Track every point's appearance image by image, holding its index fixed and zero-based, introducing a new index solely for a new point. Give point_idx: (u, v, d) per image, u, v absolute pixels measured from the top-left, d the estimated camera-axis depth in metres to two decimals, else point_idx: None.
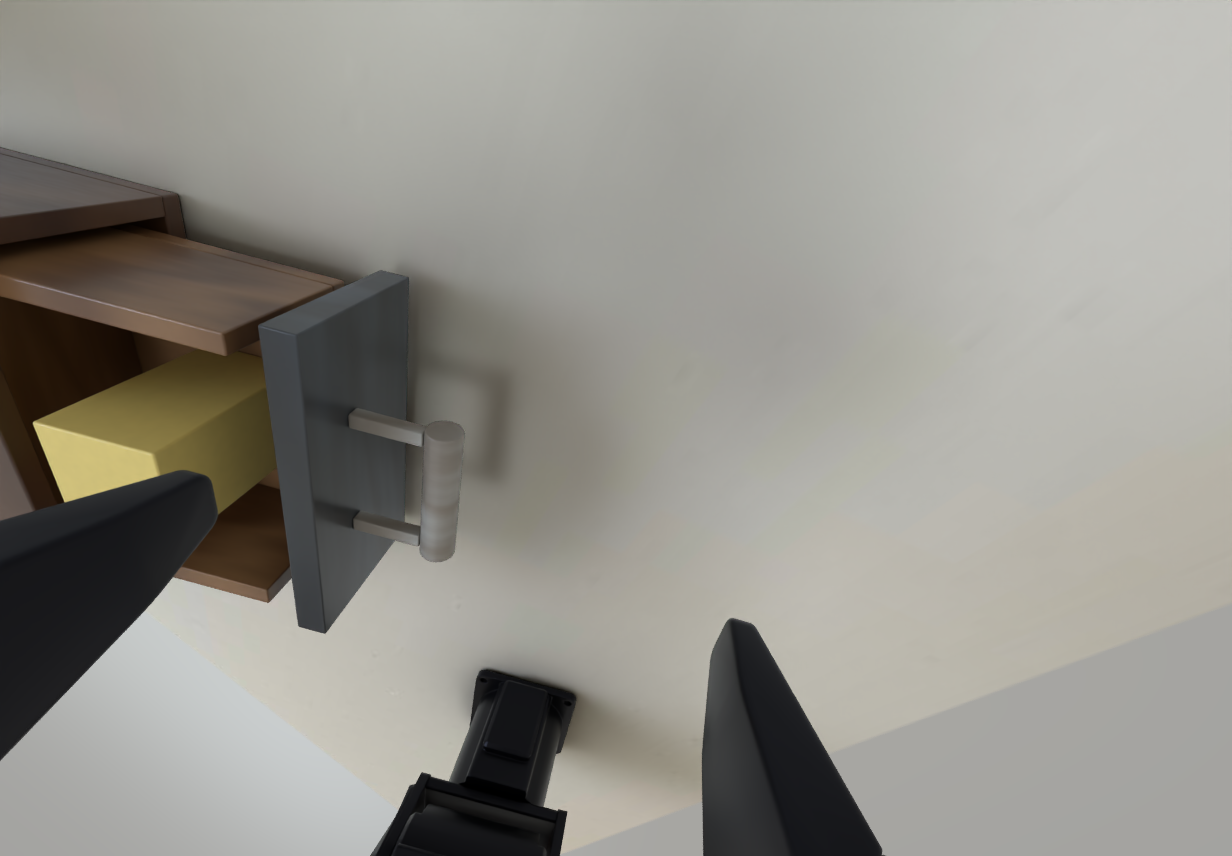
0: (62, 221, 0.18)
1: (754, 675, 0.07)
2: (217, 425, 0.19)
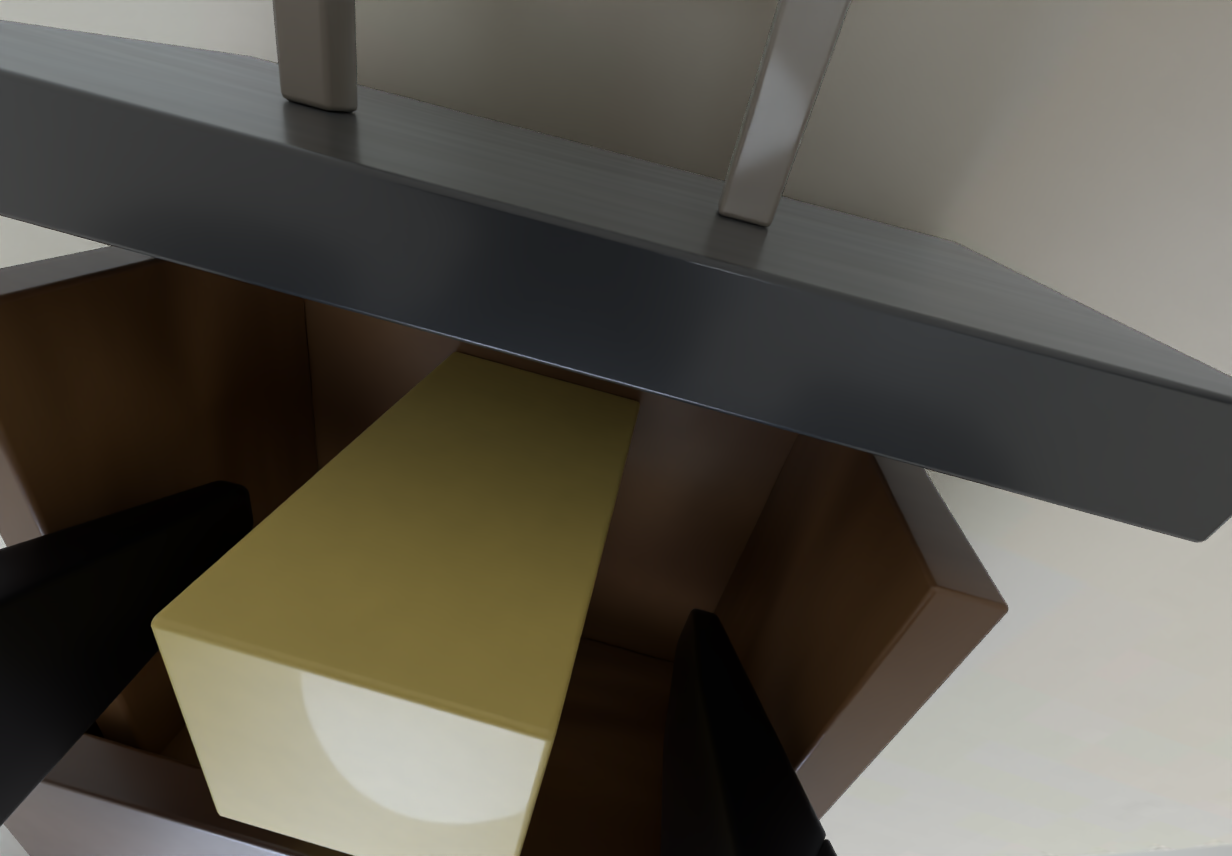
0: None
1: (712, 663, 0.08)
2: (340, 478, 0.07)
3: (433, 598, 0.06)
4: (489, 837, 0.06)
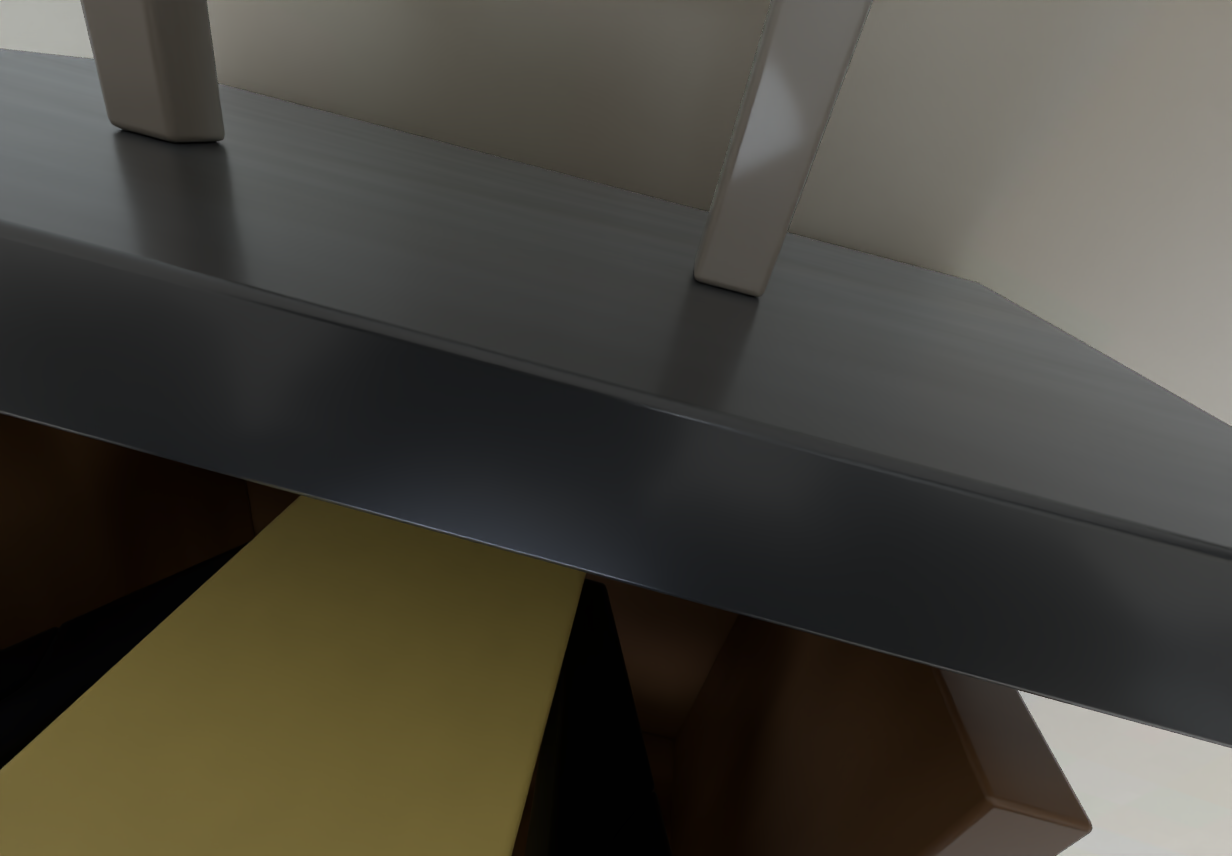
0: None
1: (584, 629, 0.08)
2: (220, 602, 0.06)
3: (315, 795, 0.04)
4: None
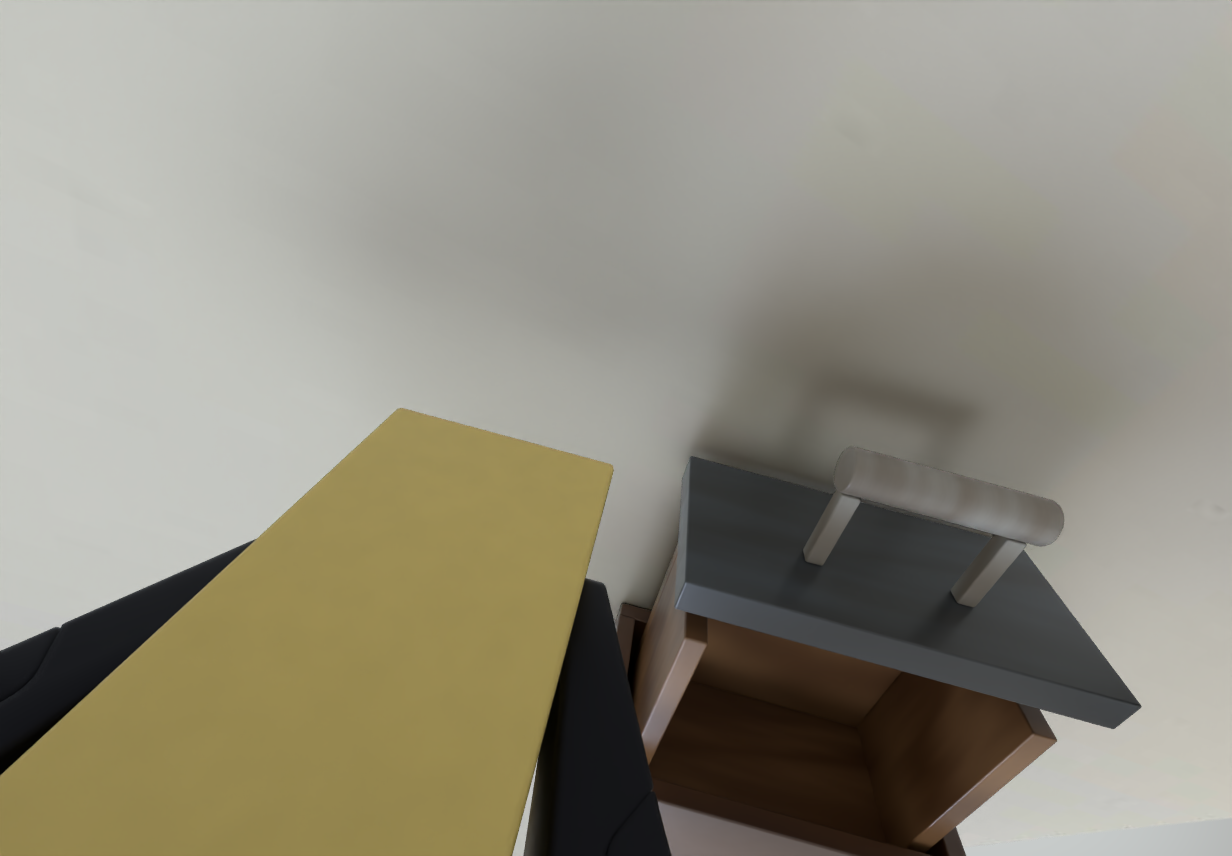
0: None
1: (583, 628, 0.08)
2: (221, 606, 0.06)
3: (316, 800, 0.04)
4: None
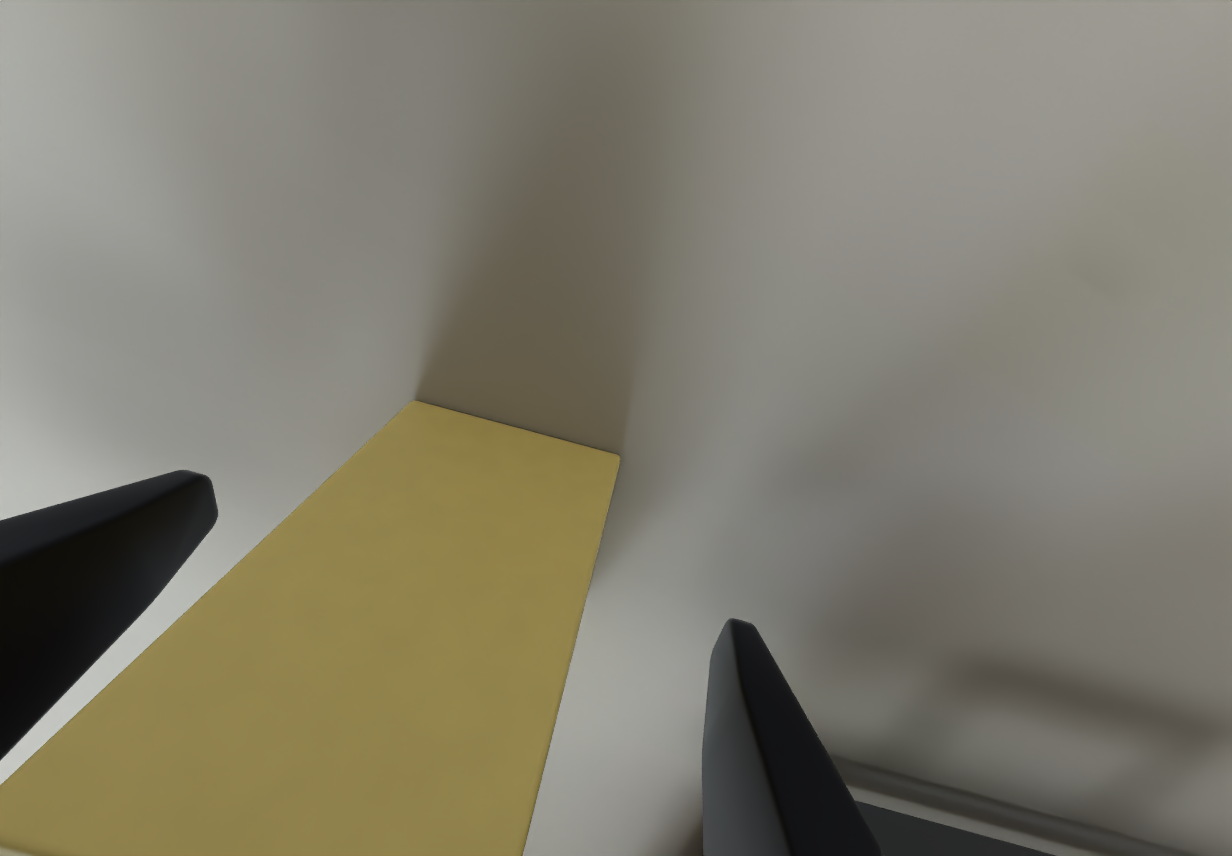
0: None
1: (754, 675, 0.07)
2: (251, 582, 0.06)
3: (349, 759, 0.05)
4: None
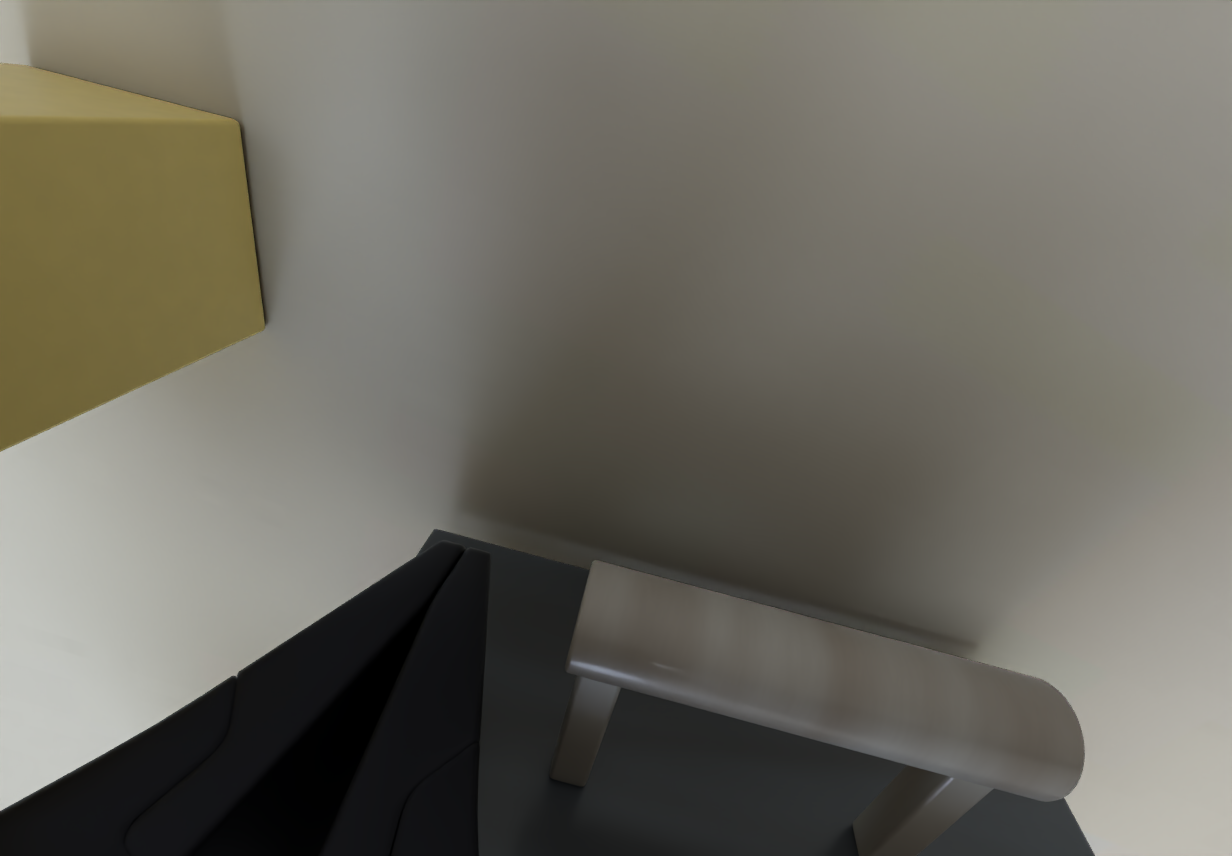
0: None
1: (453, 593, 0.08)
2: None
3: None
4: None
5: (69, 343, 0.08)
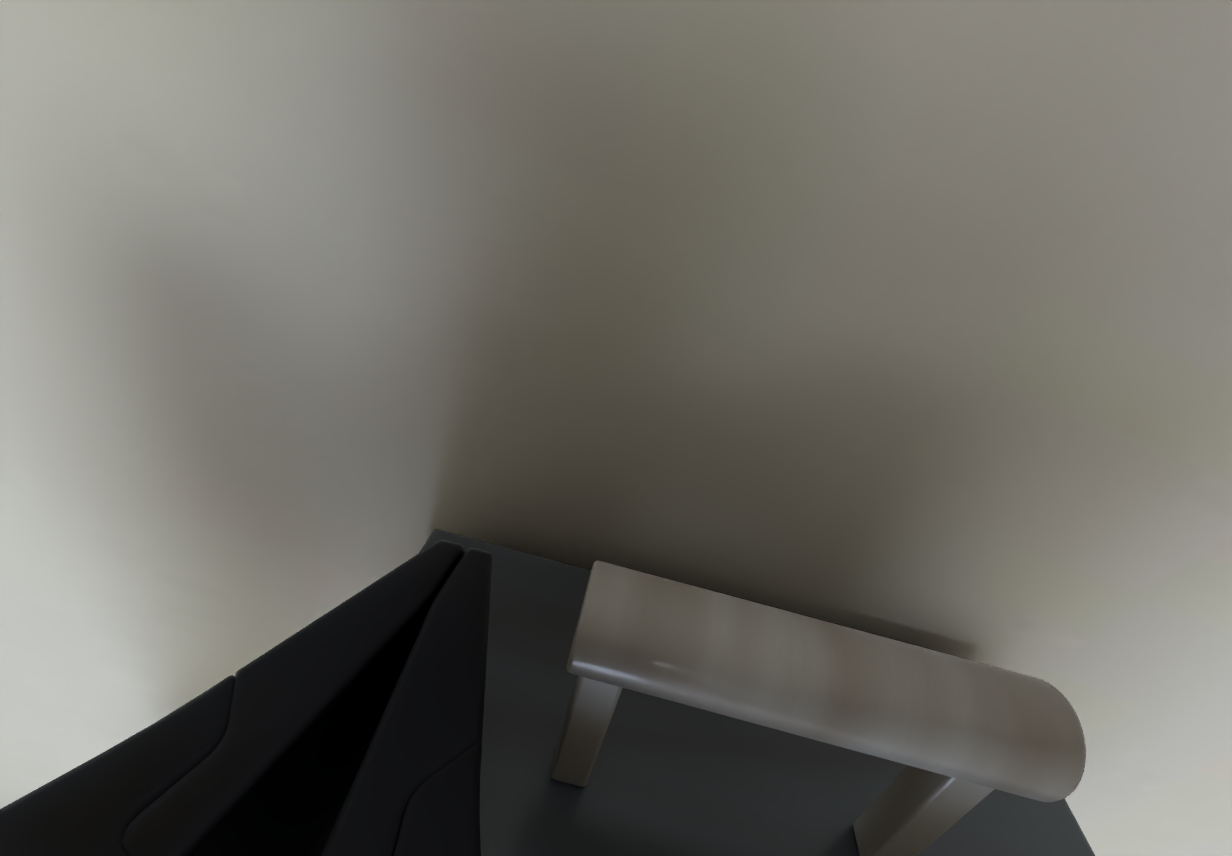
0: None
1: (454, 593, 0.08)
2: None
3: None
4: None
5: None
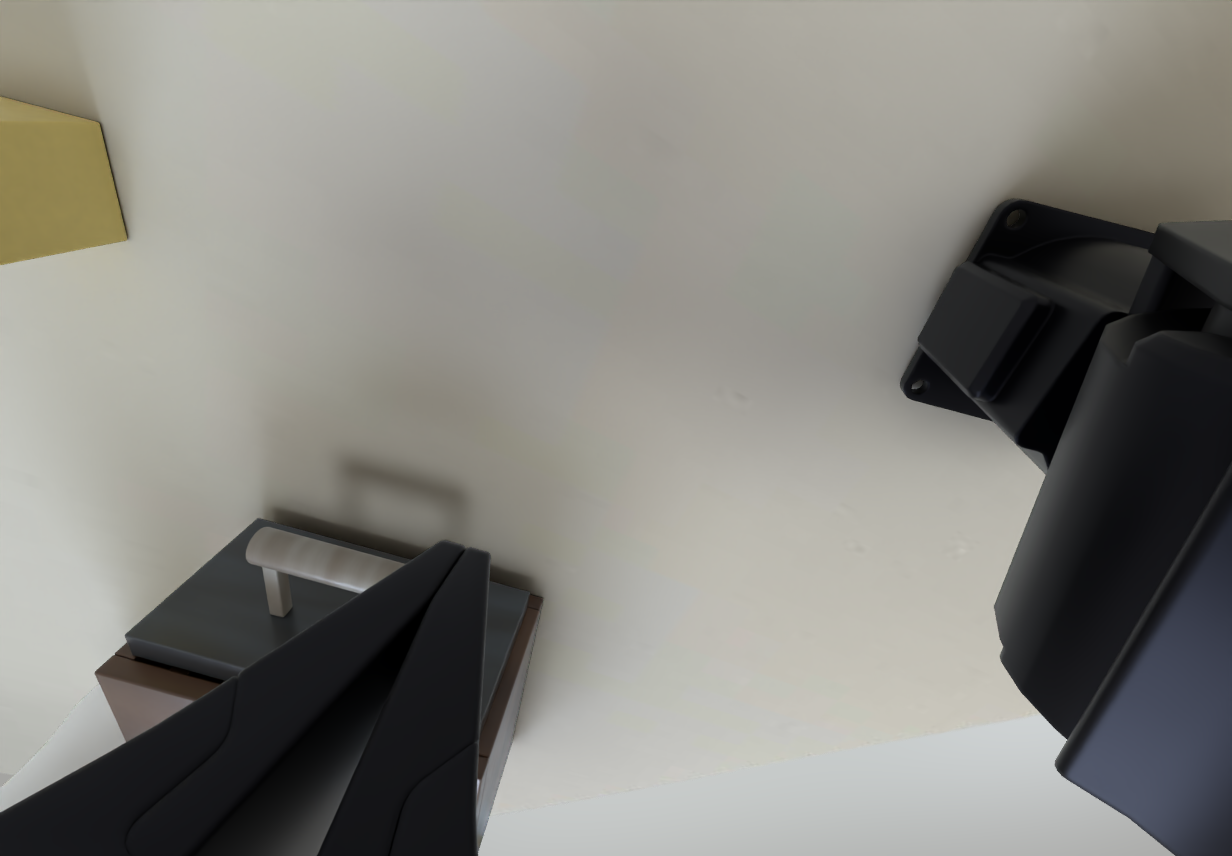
0: None
1: (452, 593, 0.08)
2: None
3: None
4: None
5: (4, 225, 0.16)
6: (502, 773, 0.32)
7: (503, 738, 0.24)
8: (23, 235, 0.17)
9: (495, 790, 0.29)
